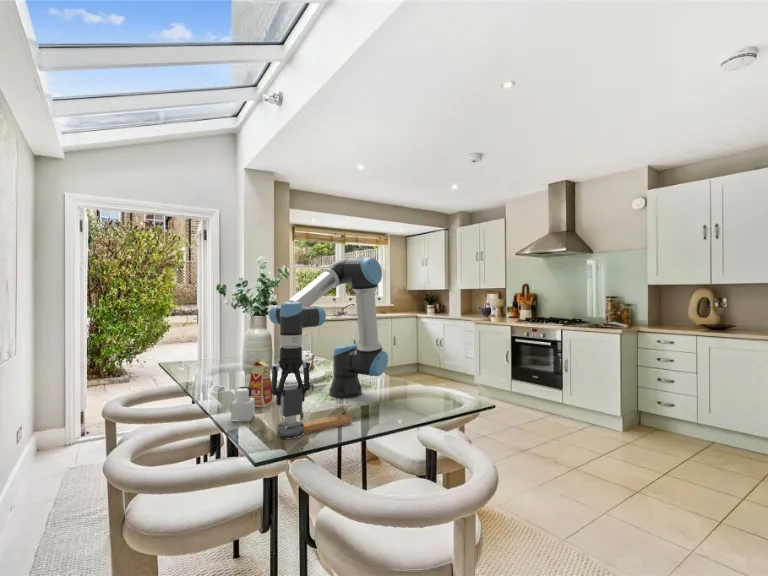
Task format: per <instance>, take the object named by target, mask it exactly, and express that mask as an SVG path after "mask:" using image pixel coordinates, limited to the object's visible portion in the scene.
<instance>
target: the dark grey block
mask: <svg viewBox="0 0 768 576" xmlns="http://www.w3.org/2000/svg"><path fill="white" fill-rule="evenodd" d="M282 395H283V396H284V404H283V415H282V416H283V417H284V418H285V417H288V416H294V415H296V416H299V415H302V414H303V402H302V388H301V387H299V386H297V385H289V386H284V388H283V391H282Z"/></svg>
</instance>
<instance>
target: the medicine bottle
mask: <svg viewBox="0 0 768 576" xmlns="http://www.w3.org/2000/svg"><path fill="white" fill-rule="evenodd" d="M254 404H255V399H254V398H251V388H250V387H249V386H238V387H237V388H235V389H234V400H233V401H232V402H231V404H230V407H231V409H230V412H231V413H230V417H231V418H230V421H231V420H238V421H237V422H250V421H252V419H253V418H254V416H255V406H254Z"/></svg>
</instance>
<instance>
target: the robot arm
mask: <svg viewBox="0 0 768 576" xmlns="http://www.w3.org/2000/svg"><path fill="white" fill-rule="evenodd" d="M381 266H382V265H381V264H380V262H379V261H378V260H377V259H376V258H375V257H370V256H369V257H367V256H364V257H362V256H361V257H344V258H341V259H337V260H336V261H334V262H333V263H330V264H329V265H328V266H326V267H325V268H324V269H322V271H321V273H320V275H319V276H318V277H316V278H315V279H314V280H312V281H311V282H310V283H309V284H307V285H306V286H305V287H303V288H302V289H301V290H300V291H298V292H297V293H295V294H294V295H293V296H292V297H291V298H289V299H288V300H286V301H285V302H282V303H281V304H276V305H273V306H272V307H270V309H269V313H268V318H269V320H270V322H271V323H272V324H275V325H280V326H279V346H280V348H279V361H278V363H277V364H271V365H270V369H271V370H270V371H271V375H272V381H271V394H273V396H275V401H276V402H275V403H276V406H278V414H279V415H280V416H283V404H284V396H283V395H282V391H283V388H284V385H285V382H286V378H287V377H288V374H291V373H294V374H295V377H296V381H297V384H298V386H299V387H301V388H302V403H303V402H305V394H306V392H307V391H310V390H311V383H310V382H311V381H309V380H310V368H311V367H310V366H311V363H310V362H309V361H303V358H302V357H303V347H302V345H303V329H305V328H316V327H320V326H322V325H323V324H324V323H325V321H326V316H327V315H326V311H325V310H324V308H323V307H322V306H315V305H314V304H315V303H316V302H317V301H318V300H320V298H322V297H323V296H324V295H326V294H327V293H328V292H329V291H330V290H331V289H336V288H337V287H338V286H340V285H344V284H349V285H350V284H351V290H352V291H353V292H354V293H355V304H356V317H357V328H358V340H359V341H358V343H359V344H355V343H354V344H345V345H338V346H336V347H335V348H334V349H333V378H332V382H331V385H330V389H329V395H330V397H334V398H340V399H342V398H343V399H351V398H356V397H359V396H362V393H363V392H362V391H363V389H362V385H361V382H360V379H359V375H363V376H369V377H380V376H382V375H383V374H384V373H385V371H386V369H387V366H388V362H389V356H388V352H387V351H384V350H383V345H382V344H381V343H380V342H379V335H378V333H379V331H378V319H377V306H376V297H375V296H376V293H375V292H376V289H377V288H378V286H379V285H378V284H379V283H381V281H382V277H383V270H382V267H381ZM313 305H314V306H313ZM301 367H302V370H303V371H302V374H303V375H304V385H303V382H302V379H301V375H300V372H301V371H300V369H301ZM279 368H280V369H281V373H280V374H281V378H280V381H279V384H278V387H277V378H278V373H279V372H278V371H279Z"/></svg>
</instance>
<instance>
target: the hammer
mask: <svg viewBox="0 0 768 576" xmlns="http://www.w3.org/2000/svg"><path fill="white" fill-rule="evenodd" d="M351 424H352V416H350V415H348V414H347V413H345V414H341V415H335V416H330V417H324V418H319V419H314V420H308V421H305V422H301V421H297V415H294V416H288V417H284V422H281V423H280V422H279V424H278V425H277V427H276V433H277V435H276V436H277V437H278V438H279V437H280V439H282V438H294V437H298V436H301V435H302V434H303V433H304V434H307V433H306V432H309V433H312V431H314V432H318V430H319V431H323V430H326V428H328V429H331V428H330V427H333V428H337V426H338V427H342V426H348V425H351ZM304 434H303V435H304ZM303 435H302V436H303ZM302 436H301V437H302ZM298 438H299V437H298ZM294 439H295V438H294Z"/></svg>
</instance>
